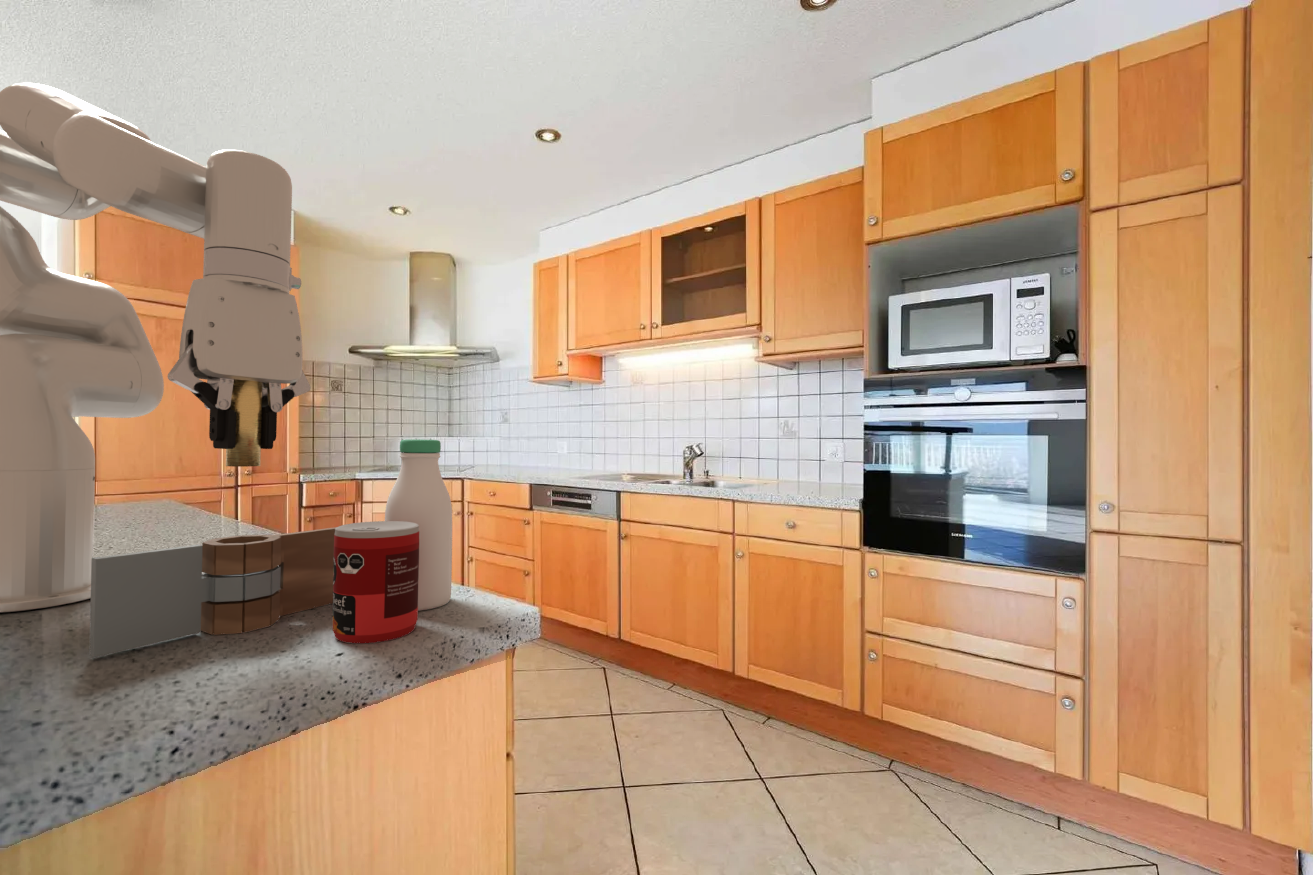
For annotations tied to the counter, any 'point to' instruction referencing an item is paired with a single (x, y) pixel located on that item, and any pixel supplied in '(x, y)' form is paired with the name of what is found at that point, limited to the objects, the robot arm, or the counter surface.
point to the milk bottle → (425, 517)
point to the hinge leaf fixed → (296, 554)
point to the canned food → (375, 581)
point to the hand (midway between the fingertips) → (243, 446)
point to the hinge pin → (246, 424)
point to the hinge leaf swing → (160, 596)
